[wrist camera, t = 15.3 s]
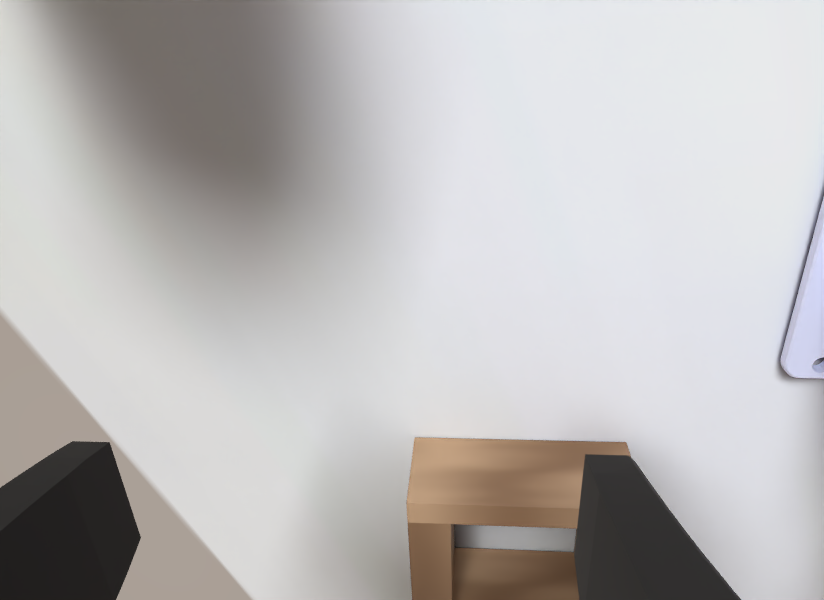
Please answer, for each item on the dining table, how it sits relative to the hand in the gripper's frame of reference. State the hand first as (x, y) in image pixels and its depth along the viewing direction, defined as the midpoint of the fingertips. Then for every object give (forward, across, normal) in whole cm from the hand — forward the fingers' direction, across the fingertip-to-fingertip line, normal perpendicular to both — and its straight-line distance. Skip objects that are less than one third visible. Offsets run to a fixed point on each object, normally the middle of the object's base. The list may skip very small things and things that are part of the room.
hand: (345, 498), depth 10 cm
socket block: (+10, -4, +12) cm, 16 cm away
